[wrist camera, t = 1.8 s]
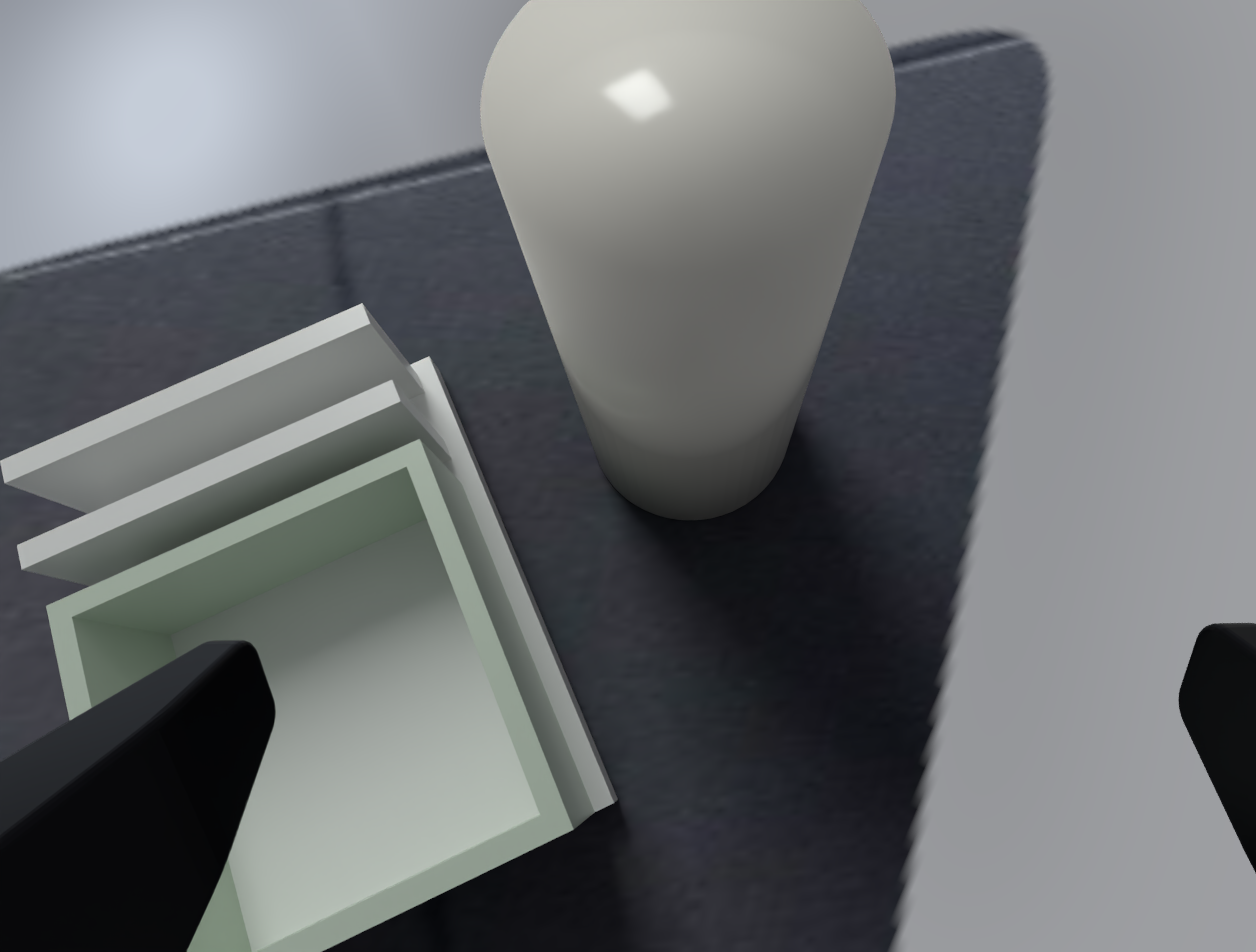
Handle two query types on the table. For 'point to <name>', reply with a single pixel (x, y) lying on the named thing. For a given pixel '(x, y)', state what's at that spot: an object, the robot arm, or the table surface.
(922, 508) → the table surface
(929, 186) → the table surface
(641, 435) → the off-white round-top cylinder
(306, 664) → the pale green holder box
